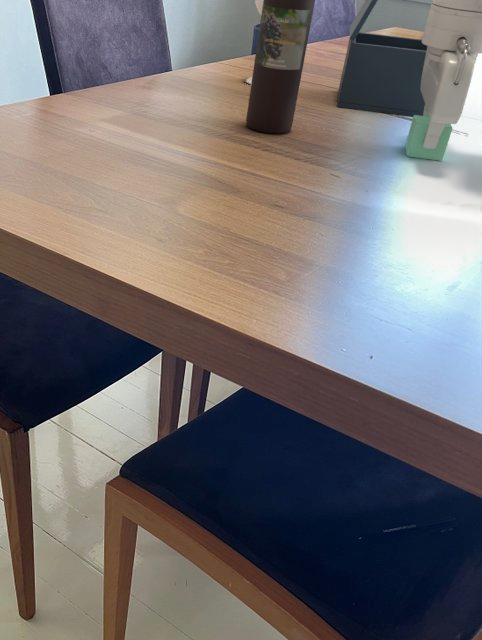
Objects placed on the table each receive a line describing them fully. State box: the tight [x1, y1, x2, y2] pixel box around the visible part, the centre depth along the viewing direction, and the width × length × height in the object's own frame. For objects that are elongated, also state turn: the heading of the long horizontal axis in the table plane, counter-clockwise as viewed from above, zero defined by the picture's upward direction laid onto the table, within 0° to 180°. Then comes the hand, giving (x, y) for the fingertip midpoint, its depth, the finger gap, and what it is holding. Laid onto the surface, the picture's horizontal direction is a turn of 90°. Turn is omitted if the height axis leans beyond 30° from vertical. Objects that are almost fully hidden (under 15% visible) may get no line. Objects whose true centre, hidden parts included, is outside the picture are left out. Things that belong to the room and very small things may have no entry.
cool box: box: [336, 31, 427, 117], centre depth 127 cm, size 16×13×10 cm
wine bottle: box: [245, 0, 316, 135], centre depth 102 cm, size 7×7×30 cm
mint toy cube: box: [404, 115, 453, 162], centre depth 105 cm, size 5×5×4 cm
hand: (426, 141), depth 105 cm, fingers closed on mint toy cube, 5 cm apart
